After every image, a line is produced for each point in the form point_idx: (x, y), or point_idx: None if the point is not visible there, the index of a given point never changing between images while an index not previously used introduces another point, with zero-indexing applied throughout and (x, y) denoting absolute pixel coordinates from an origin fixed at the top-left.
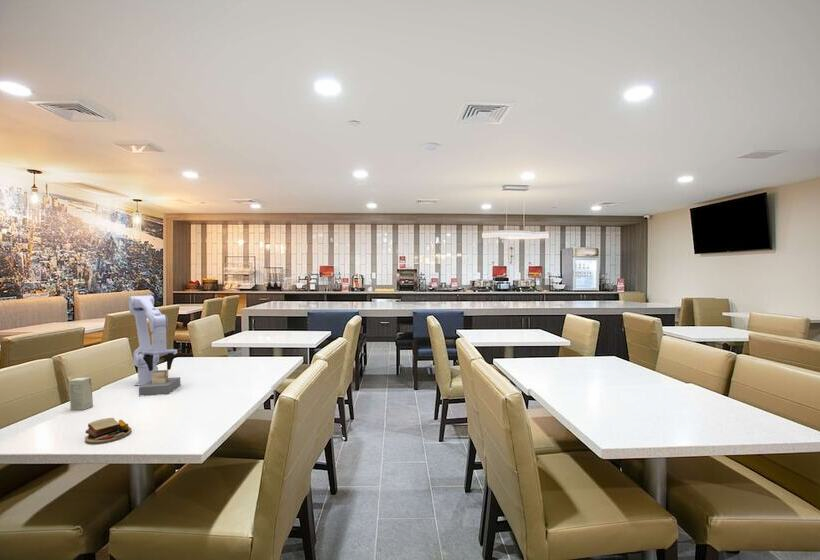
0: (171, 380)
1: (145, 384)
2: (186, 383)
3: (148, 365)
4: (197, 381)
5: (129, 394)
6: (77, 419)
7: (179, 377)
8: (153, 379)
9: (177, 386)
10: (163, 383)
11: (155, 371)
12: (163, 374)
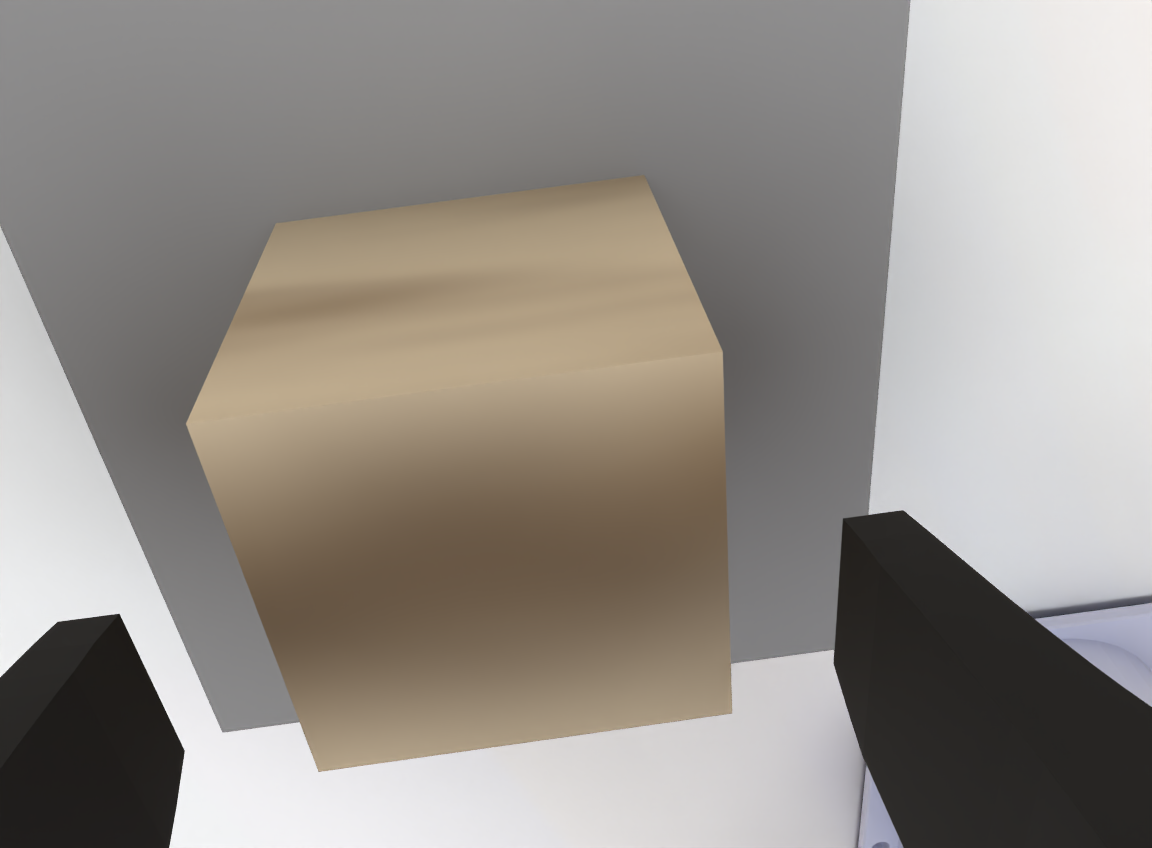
0: None
1: (832, 131)
2: None
3: (1057, 683)
4: None
5: (1144, 2)
6: None
7: (221, 712)
8: (609, 235)
9: None
10: (263, 183)
11: (688, 591)
12: (215, 368)
